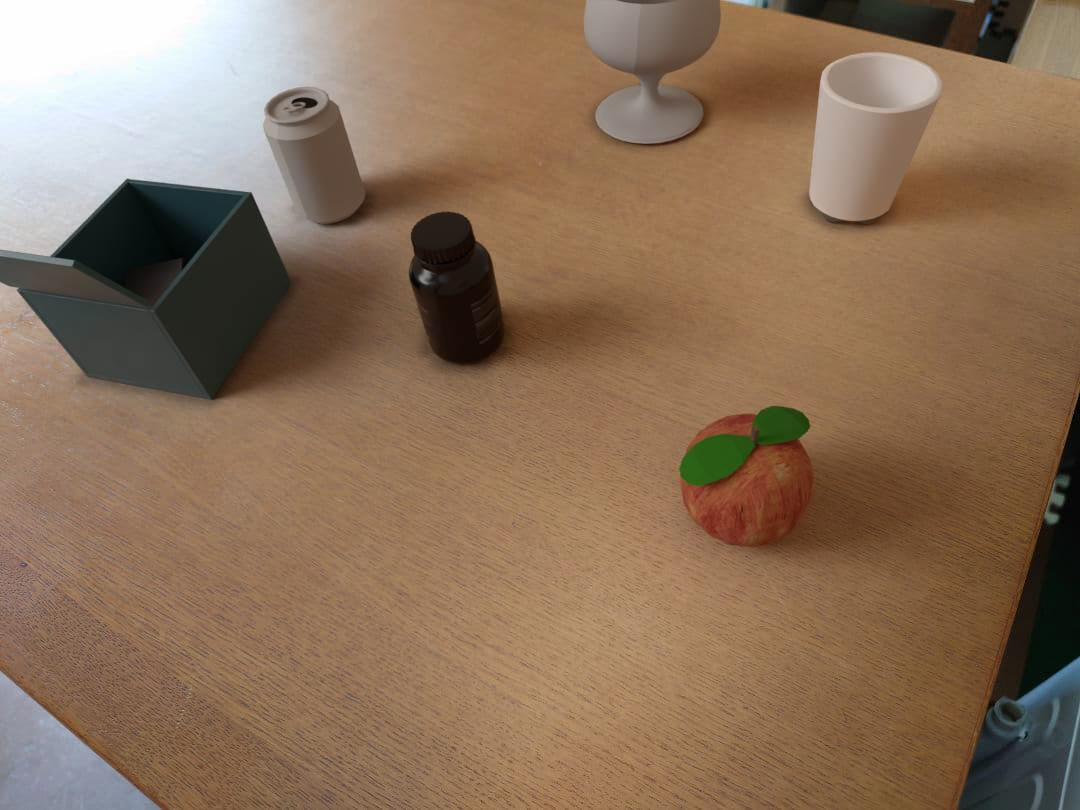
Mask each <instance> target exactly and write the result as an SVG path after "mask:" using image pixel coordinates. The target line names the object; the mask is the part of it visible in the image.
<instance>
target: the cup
mask: <svg viewBox="0 0 1080 810" xmlns="http://www.w3.org/2000/svg"><path fill="white" fill-rule="evenodd" d="M819 81H820V82H819V90H818V100H817V111H816V121H815V131H814V140H813V149H812V151H813V152H812V159H811V160H812V161H811V172H810V181H809V191H808V196H809V197H808V198H809V202H810V204H812V205H813V206H814V207H815V208H816V209H817V210H818V211H819V212H820V213H821V214H822V216H823V217H824V218H825V219H826V220H827V222H830V223H832V224H834V223H836V224H837V223H840V222H858V223H860V224H862V225H867V226H869V225H871V224H873V223H874V222H875V221H876V220H878V219H880V217H882V216H883V215H884V214H885V213H887V212H888V211H890V208H891V206H892V205H893V203H894V200H895V198H896V196H897V194H898V191H899V189H900V187H901V185H902V182H903V180H904V178H905V176H906V173H907V172H908V169H909V168H910V165H911V163H912V160H913V158H914V156H915V153H916V151H917V149H918V147H919V145H920V143H921V140H922V138H923V136H924V134H925V131H926V129H927V127H928V124H929V122H930V120H931V118H932V115H933V114H934V111H935V109H936V107H937V104H938V102H939V100H940V98H941V96H942V93H943V91H944V81H943V79H942V76H940V74H939V73H938V72H937V71H936V70H935V69H934V68H933V67H932V66H931V65H929V64H927V63H925V62H923V61H921V60H919V59H916V58H913V57H910V56H908V55H904V54H897V53H894V52H893V53H892V52H884V51H883V52H881V51H872V52H871V51H870V52H860V53H856V54H850V55H847V56H845V57H842V58H839V59H836V60H834V61H833V62H831V63H829V64H827V65H826V66H825V68H824V70H823V71H822V72H821V77H820V80H819Z"/></svg>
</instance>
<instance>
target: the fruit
mask: <svg viewBox="0 0 1080 810" xmlns="http://www.w3.org/2000/svg"><path fill="white" fill-rule="evenodd" d="M811 427H812V426H811V423H810V419H809V418H808V417H807V416H806V415H805V413H804V412H802V411H800V410H798V409H795V408H794V407H788V406H781V405H770V406H768V407H765V408H763V409H760V410H759V412H758V413H757V414H756V413H738V414H730V415H729V414H728V415H726V416H723V417H721V418H719V419H716V420H715V421H713V422H711V423H709V424H707V426H705V427H704V428H703V429H701V430H699V432H698V433H697V434H696V435H695V436H694V438H693V439H692V441H691V442H690V443H689V444H688V446H687V448H686V450H685V453H684V456H683V457H682V459H681V462H680V465H679V468H678V470H679V485H680V491H681V495H682V500H683V501H682V502H683V504H684V507H685V508H686V510H687V512H688V514H689V516H690V518H691V520H693V521H694V522H695V523H696V524H697V525H698V526H699V527H700V528H701V530H703V531H704V532H705V533H706V534H707V535H709V536H710V537H711V538H713V539H716V540H718V541H721V542H723V543H726V544H728V545H729V546H736V547H751V548H753V547H760V546H767V545H768V544H770V543H772V542H774V541H776V540H779V539H781V538H783V537H785V536H786V535H788V534H789V533H790V532H792V531H793V530H794V528H796V526H797V525H798V524H799V523H800V522H801V520H802V518H803V517H804V516H805V514H806V511H807V509H808V507H809V504H810V502H811V499H812V497H813V494H814V481H815V477H814V476H815V475H814V470H813V465H812V459H811V458H810V456H809V454H808V452H807V451H806V449H805V447H804V446H803V444H802V442H801V440H800V439H801V438H802V437H803V436H805V434H807V433H808V432H809V430H810V428H811Z"/></svg>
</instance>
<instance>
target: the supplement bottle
mask: <svg viewBox="0 0 1080 810" xmlns="http://www.w3.org/2000/svg"><path fill="white" fill-rule="evenodd" d="M410 242H411V245H412V248H413V249H412V252H413V254H414V255H413V257H412V258H411V260H410V263H409V266H408V279H409V282H410V283H409V284H410V287H411V289H412V293H413V296H414V299H415V302H416V306H417V309H418V313H419V316H420V320H421V322H422V326H423V328H424V332H425V335H426V338H427V341H428V344H429V346H430V349H431V351H432V352H433V353H434V354H435V356H437V357H438V358H439V359H441V360H443V361H445V362H447V363H450V364H454V365H470V364H475V363H478V362H481V361H483V360H485V359H488V358H489V357H491V356H492V355H493V354H495V353H496V352H497V350H498V349H499V348H500V347H501V345H502V344H503V341H504V339H505V334H506V326H505V320H504V315H503V310H502V305H501V300H500V294H499V288H498V285H497V278H496V274H495V269H494V263H493V259H492V256H491V254H490V252H489V251H488V250H487V248H486V247H485V246H484V245H483V243H481V242H479V241H477V240H476V236H475V234H474V229H473V225H472V223H471V221H470V219H468V217H467V216H465V215H464V214H461V213H459V212H455V211H439V212H438V211H437V212H435V213H430V214H429V215H425V216H424V217H423V218H421V219H419V220H418V221H417V222H416V223H415V224H414V225H413V227H412V229H411V232H410Z"/></svg>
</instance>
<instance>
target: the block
mask: <svg viewBox="0 0 1080 810" xmlns="http://www.w3.org/2000/svg"><path fill="white" fill-rule="evenodd" d="M185 267H186V263H185V261H184V259H183V258H180V259H175V260H171V261H166V262H162V263H157V264H153V265H148V266H144V267H139V268H135V269H131V270H127V275H126V282H125V288H126V289H128V290H129V291H131V292H133V293H135V294H137V295H138V296H140V297H142V298H144V299H145V300H147V301H149V305H148V306H152V307H153V305H154V304H155V303H156V302H157V301H158V299H159V298H160V297H161V296H162V295H163V293H164V292H165V291H166V290H167V288H168V287H169V286H170V285H171V284H172V282H173V281H174V280H175V279H176V277H177V276H178V275H179V274H180V273H181V271H182V270H183V269H184V268H185Z"/></svg>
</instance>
